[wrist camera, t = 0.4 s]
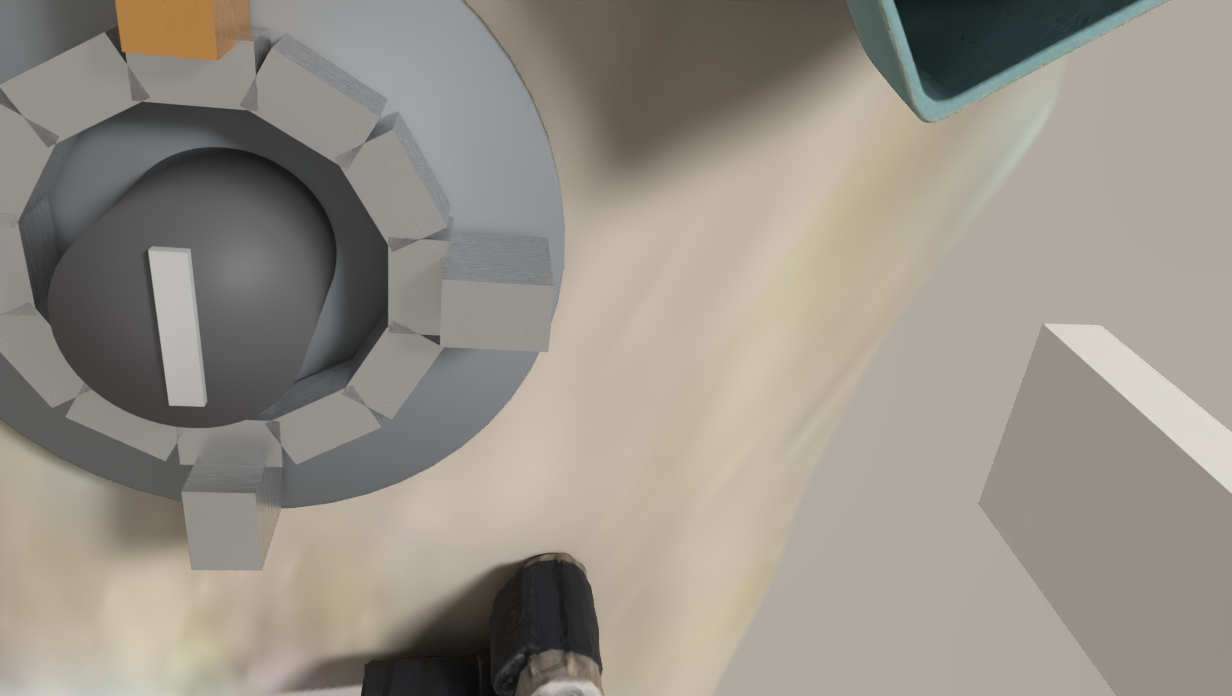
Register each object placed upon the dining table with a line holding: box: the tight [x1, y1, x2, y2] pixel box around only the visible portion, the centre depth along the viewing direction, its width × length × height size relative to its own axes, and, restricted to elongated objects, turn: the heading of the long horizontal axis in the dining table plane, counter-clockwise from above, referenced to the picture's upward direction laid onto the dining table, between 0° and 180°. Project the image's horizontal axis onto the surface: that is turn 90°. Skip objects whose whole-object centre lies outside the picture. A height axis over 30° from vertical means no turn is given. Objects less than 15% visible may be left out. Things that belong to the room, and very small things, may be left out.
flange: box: [0, 0, 565, 508], centre depth 29 cm, size 23×23×8 cm
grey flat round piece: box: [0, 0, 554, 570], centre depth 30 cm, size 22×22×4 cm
